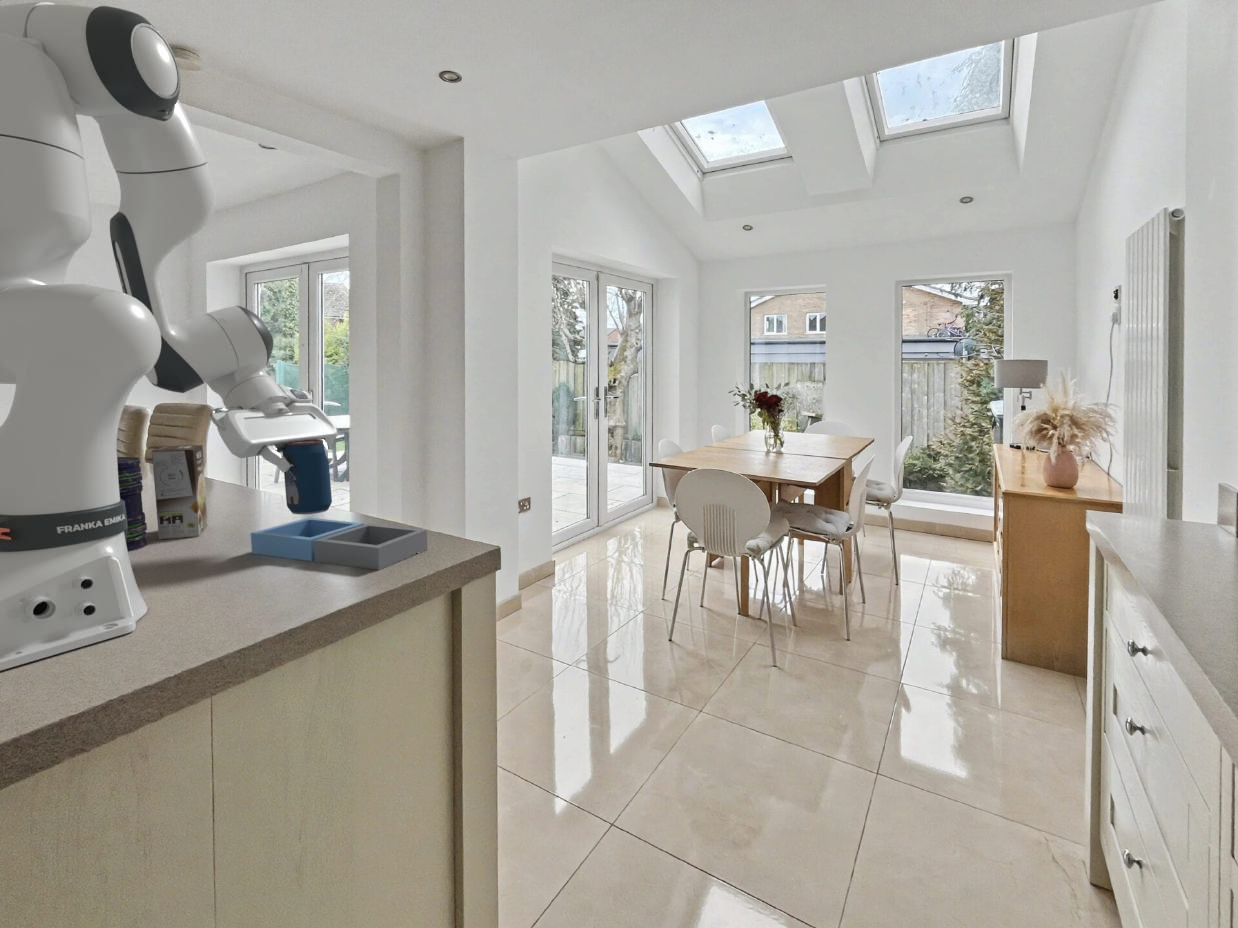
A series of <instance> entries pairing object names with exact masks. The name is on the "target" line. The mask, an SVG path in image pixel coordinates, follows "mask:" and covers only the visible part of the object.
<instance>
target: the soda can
mask: <svg viewBox="0 0 1238 928" xmlns="http://www.w3.org/2000/svg"><path fill="white" fill-rule="evenodd" d="M327 449H328V447H327V448H326V447H325V445H324V444H323V440H303V441H295V442H287V443H286V446H285V448H284V451H283V452H282V453H281V455H282V456H284V457H285V458H290V459H291V460H292V462H294V464H295V467H294V468H293V469H292V471H289V472H283V474H284V475H283V476H284V487H285V490H284V491H285V499H286V501H285V502H286V507H287V508H288V510H289V511H290V512H291V513H292V514H293V515H315V514H320V513H324V512H327V511H328V510H329V508H330V507H331V505H332V503H333V500H332V499H333V497H332V487H331V486H332V485H331V484H332V483H331V471H330V464H329V458H328V453H329V449H328V450H327Z"/></svg>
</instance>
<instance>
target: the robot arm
mask: <svg viewBox="0 0 1238 928" xmlns="http://www.w3.org/2000/svg"><path fill="white" fill-rule="evenodd" d="M156 28H157V27H155V26H154V25H153V24H152V23H151V22H150V21H149V20H148V19H147V18H145V17H144V16H142V15H140V14H138V13H136V12H133V11H129V10H125V9H122V8H119V7H112V6H110V5H109V6H108V5H101V6H97V7H93V6H83V5H74V4H58V3H57V4H56V3H53V2H47V1H46V2H43V1H42V2H40V1H39V2H26V3H15V4H8V5H2V6H1V5H0V385H15V389H14V396H13V400H12V404H11V406H10V410H9V412H8V415H7V418H6V419H5V420H4V422H3V423H2V425H0V672H1V671H4V670H7V669H10V668H11V669H12V668H13V667H17V666H20V665H24V664H27V663H30V662H34V661H37V660H42V659H45V658H48V657H51V656H54V655H59V654H62V653H65V652H68V651H72V650H75V649H78V648H82V647H85V646H89V645H92V644H95V643H98V642H103V641H105V640H108V639H112V638H116V637H119V636H123V635H127V634H128V633H131V632H133V631H135V630H136V628H137V624H136V623H137V621H138V620H139V619H141V618H142V617H143V616H144V615H145V614H146V613H147V612H148V605H147V604H146V602H145V600H144V598H143V596H142V594H141V592H140V588H139V587H138V584H137V582H136V578H135V577H136V576H135V575H134V572H133V567H132V564H131V561H130V556H129V552H128V550H127V545H126V540H127V532H128V525H127V515H126V508H125V501H123V500H122V499H120V492H119V480H118V464H117V457H118V449H117V446H118V445H117V442H118V440H117V439H118V431H119V426H120V422H121V417H122V415H123V411H124V408H125V405H126V403H127V400H128V397H129V396H130V394H131V392H132V390H133V389H134V387H135V385H136V384H137V383H138V382H139V381H140V380H141V379H142V378H143V377H144V376H145V377H146V379H147V380H148V381H149V382H150V383H151V384H152V385H153V386H154V387H157V388H159V389H162V390H165V391H169V392H173V393H178V394H185V393H187V392H189V391H191V390H193V389H196V388H198V387H200V386H202V385H204V384H205V383H206V384H207V386H208V387H209V388H210V389H211V390H212V392H214V393H215V394H217V395H218V396H219V397H220V398H221V400H222V403H223V406H225V407H215V408H214V409H213V410H212V411H211V412H210V414H209V418H210V420H211V422H212V423H213V424H214V425H215V427H217V428H216V429H217V432H218V434H219V436H220V438H221V439H222V441H223V443H224V445H225V446H226V448H227V449H228V451H229V452H230V453H231V454H232V455H233V456H234V457H238V458H240V459H245V458H253V457H260V456H261V457H262V458H263V460H265V461H266V462H267V463H268V462H269V463H271V464H272V465H275V467H277V468H278V469H279V471H280V472H281V473H284V472H289V471H292V469H293V468H294V467H295V464H294V462H292V460H291V459H290V458H285V457H284V456H283V454H282V453H283V451H284V448H285V446H286V443H287V442H295V441H303V440H323V444H324V445H325V447H326V448H327V450H328V451H329V449H328V447H329V446H331V444H332V443H333V441H334V440H335V439H336V438H337V436H338V428H337V427H336V425H335V424H334V423H333V421H332V420H331V419H330V417H329V416H328V415H327V414H326V413H325V411H323V409H321V408H320V407H319V406H318V405H316V404H314V403H312V401H313V400H314V399H313V397H312V395H311V394H310V393H309V392H308V391H304V390H300V389H296V388H292V387H289V386H286V385H284V384H281V383H277V381H275V379H274V378H273V377H271V376H270V375H269V374H268V373H267V372H266V370H265V367H266V366H267V365H268V363H269V362H270V358H271V355H272V352H273V349H274V338H273V336H272V334H271V331H270V330H269V328H268V326H267V325H266V324H265V323H264V321H263V320H262V319H261V318H260V317H259V316H258V314H256V313H255V312H253V311H252V310H250V309H247V308H245V307H244V306H240V305H235V306H229V307H224V308H220V309H217V310H214V311H210V312H206V313H204V314H203V315H199V316H195V317H192V318H189V319H185V320H182V321H179V322H176V323H175V322H174V323H170V322H169V317H168V312H167V308H166V305H165V300H164V296H163V291H162V286H161V281H160V277H159V275H160V274H159V271H160V268H161V265H162V262H163V261H164V259H165V258H166V257H167V255H169V254H170V253H171V252H172V251H173V250H174V249H175V248H176V247H178V246H179V245H181V244H182V243H184V242H185V241H186V240H188V239H189V238H190V237H191V238H192V236H194V235H195V234H197V233H198V232H199V231H200V230H201V229H203V228H204V227H205V225H207V224H208V223H209V221H210V219H212V216H213V215H214V212H215V210H216V207H217V202H218V196H217V195H218V194H217V190H216V185H215V181H214V178H213V175H212V172H211V168H210V166H209V163H208V161H207V158H206V156H205V152H204V149H203V148H202V145H201V143H200V140H199V137H198V135H197V133H196V131H195V129H194V127H193V124H192V122H191V121H190V119H189V118H190V117H188V115H187V113H186V111H185V109H184V107H183V105H182V103H181V102H180V100H179V96H180V90H181V77H180V76H181V75H180V70H179V65H178V62H177V59H176V56H175V54H174V51H173V49H172V48H171V46H170V44H169V43H168V41H167V40H166V39H165V37H164V35H162V33H160V32H159V30H158V29H156ZM77 115H79V116H80V115H81V116H86V117H91V118H92V119H94V121H95V122H96V123H97V124H98V126H99V130H100V134H101V136H102V140H103V142H104V146H105V149H106V151H107V154H108V158H109V159H110V162H111V164H112V166H113V169H114V171H115V173H116V177H117V179H118V182H119V188H120V201H119V208H118V211H117V212H116V213H115V214H114V215H113V216H112V217H111V218H109V219H110V220H109V236H110V242H111V243H110V244H111V247H112V252H113V257H114V261H115V266H116V269H117V274H118V277H119V281H120V285H121V289H122V292H120V291H116V290H113V289H109V288H105V287H100V286H95V285H90V284H83V283H64V282H65V277H66V273H67V271H68V270H67V269H68V266H69V265H70V262H71V260H72V258H73V256H74V254H75V255H76V252H77V251H78V250H80V249H81V248H82V246H84V245H85V243H87V241H89V239H90V237H91V233H92V229H93V223H92V214H91V207H90V206H91V205H90V196H89V188H88V180H87V171H86V164H85V163H86V162H85V156H84V150H83V148H84V147H83V141H82V137H81V131H80V125H79V123H78V119H77ZM328 458H329V465H330V464H331V463H332V462H333V457H332V456H331V454H330V453H329V452H328Z"/></svg>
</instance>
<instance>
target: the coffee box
mask: <svg viewBox="0 0 1238 928" xmlns="http://www.w3.org/2000/svg"><path fill="white" fill-rule="evenodd" d="M203 450H204V449H203V444H189V445H188V444H187V445H186V444H185V445H166V446H165V445H164V446H162V447H158V448H156V449H153V450H151V455H152V468H153V483H154V494H155V505H156V507H155V508H156V518H157V532H158V539H159V540H165V539H166V540H167V539H180V538H195V537H200V536H201V534H202V533H203V532H204V531H205V530H206V529H207V528H208V526H209V523H208V521H209V520H208V507H207V494H206V493H207V492H206V478H205V465H204V451H203Z"/></svg>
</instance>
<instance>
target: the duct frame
mask: <svg viewBox="0 0 1238 928" xmlns="http://www.w3.org/2000/svg"><path fill="white" fill-rule="evenodd" d="M250 542H251V543H250V545H251V554H253V555H260V554H261V556H269V557H274V558H284V559H292V560H298V561H299V560H300V561H306V562H313V561H314V562H315V563H323V564H331V565H338V566H339V565H340V566H344V567H354V568H360V569H361V568H362V569H369V570H376V571H380V570H383V569H384V568H388V567H391V566H392V565H395V564H396V563H397V564H398V563H399V562H402V561H403V560H406V559H405V558H407V559H408V558H411V557H413V556H412V555H414V554H416V553H418V552H421V551H423V550H426V549H428V530H427V529H423V528H412V527H403V526H394V525H393V526H392V525H383V524H374V523H364V522H354V521H347V520H346V521H345V520H337V519H334V520H333V519H324V518H315V517H307V518H303V519H299V520H294V521H291V522H287V523H283V524H279V525H276V526H272V527H268V528H264V529H261V530H256V531H254V532H250ZM426 551H427V550H426ZM423 552H424V551H423ZM421 553H422V552H421ZM418 554H419V553H418ZM416 555H417V554H416ZM410 556H411V557H410ZM414 556H415V555H414ZM401 560H402V561H401ZM398 561H399V562H398ZM394 563H395V564H394Z"/></svg>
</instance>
